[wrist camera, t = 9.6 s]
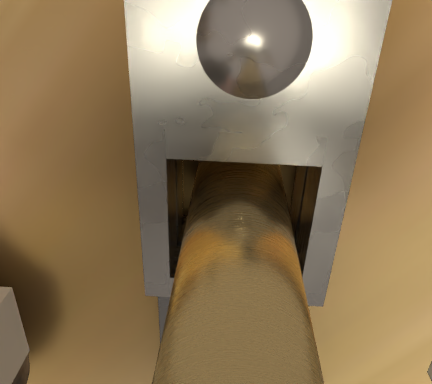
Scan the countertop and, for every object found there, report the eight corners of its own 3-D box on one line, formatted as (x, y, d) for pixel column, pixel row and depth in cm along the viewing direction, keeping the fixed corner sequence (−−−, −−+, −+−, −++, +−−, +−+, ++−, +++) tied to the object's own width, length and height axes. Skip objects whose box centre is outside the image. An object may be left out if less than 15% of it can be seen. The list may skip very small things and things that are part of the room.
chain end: (163, 232, 23) (141, 307, 18) (148, -170, 15) (97, -248, 9) (306, 240, 23) (326, 319, 18) (378, -164, 14) (458, -240, 9)
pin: (197, 132, 20) (135, 378, 8) (284, 136, 20) (354, 393, 8) (197, 205, 22) (146, 488, 10) (275, 210, 22) (318, 501, 10)
